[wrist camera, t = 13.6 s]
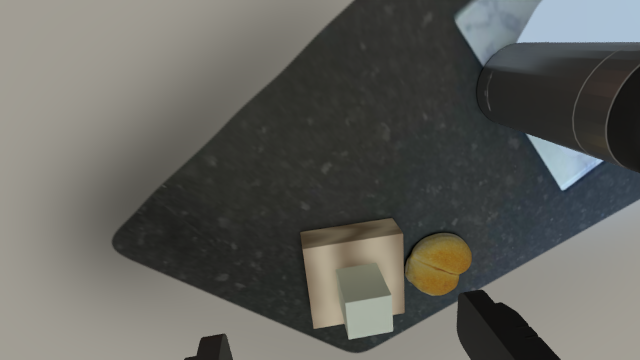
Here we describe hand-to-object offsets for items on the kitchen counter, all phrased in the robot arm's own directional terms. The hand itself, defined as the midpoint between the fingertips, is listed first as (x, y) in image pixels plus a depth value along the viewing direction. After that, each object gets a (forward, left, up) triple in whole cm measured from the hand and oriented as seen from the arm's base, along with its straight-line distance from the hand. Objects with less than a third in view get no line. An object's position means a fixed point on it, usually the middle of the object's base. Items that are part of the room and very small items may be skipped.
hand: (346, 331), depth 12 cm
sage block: (-5, +19, -26) cm, 33 cm away
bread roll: (-17, +21, -31) cm, 41 cm away
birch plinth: (-5, +19, -30) cm, 36 cm away
